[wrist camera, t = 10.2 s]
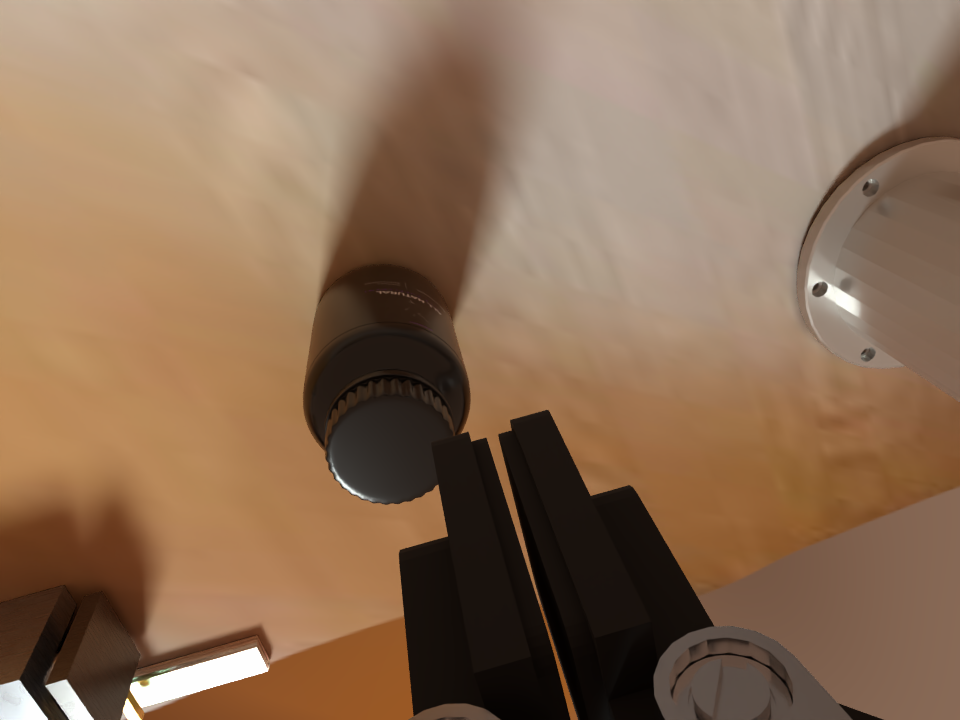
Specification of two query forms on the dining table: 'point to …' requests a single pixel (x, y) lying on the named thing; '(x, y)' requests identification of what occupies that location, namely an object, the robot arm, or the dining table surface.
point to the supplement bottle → (384, 382)
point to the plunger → (95, 666)
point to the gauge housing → (38, 632)
